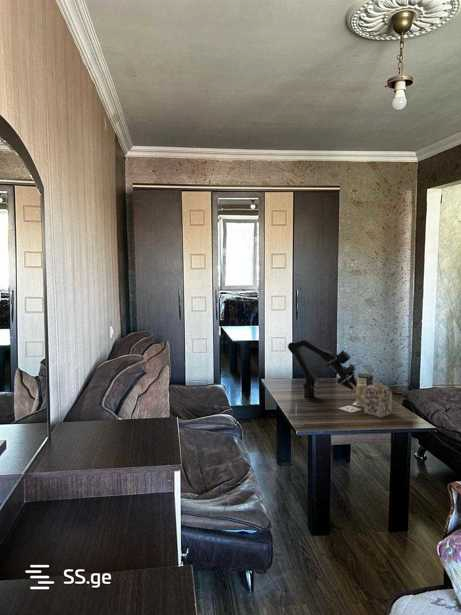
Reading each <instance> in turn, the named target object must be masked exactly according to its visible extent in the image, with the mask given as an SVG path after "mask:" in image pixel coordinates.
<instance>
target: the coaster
mask: <svg viewBox="0 0 461 615" xmlns="http://www.w3.org/2000/svg"><path fill="white" fill-rule="evenodd" d="M351 406H358V407H363V408H364V405H358V404H356V401H355V402H353V403H352V404H351Z"/></svg>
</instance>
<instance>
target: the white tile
mask: <svg viewBox="0 0 461 615" xmlns="http://www.w3.org/2000/svg"><path fill="white" fill-rule="evenodd" d="M338 409H339V410H343V411H345V412H349V413H354V412H359V411H362V410H363V409H362V408H359V407H356V406H354V405H346V406H343V407H338Z"/></svg>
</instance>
